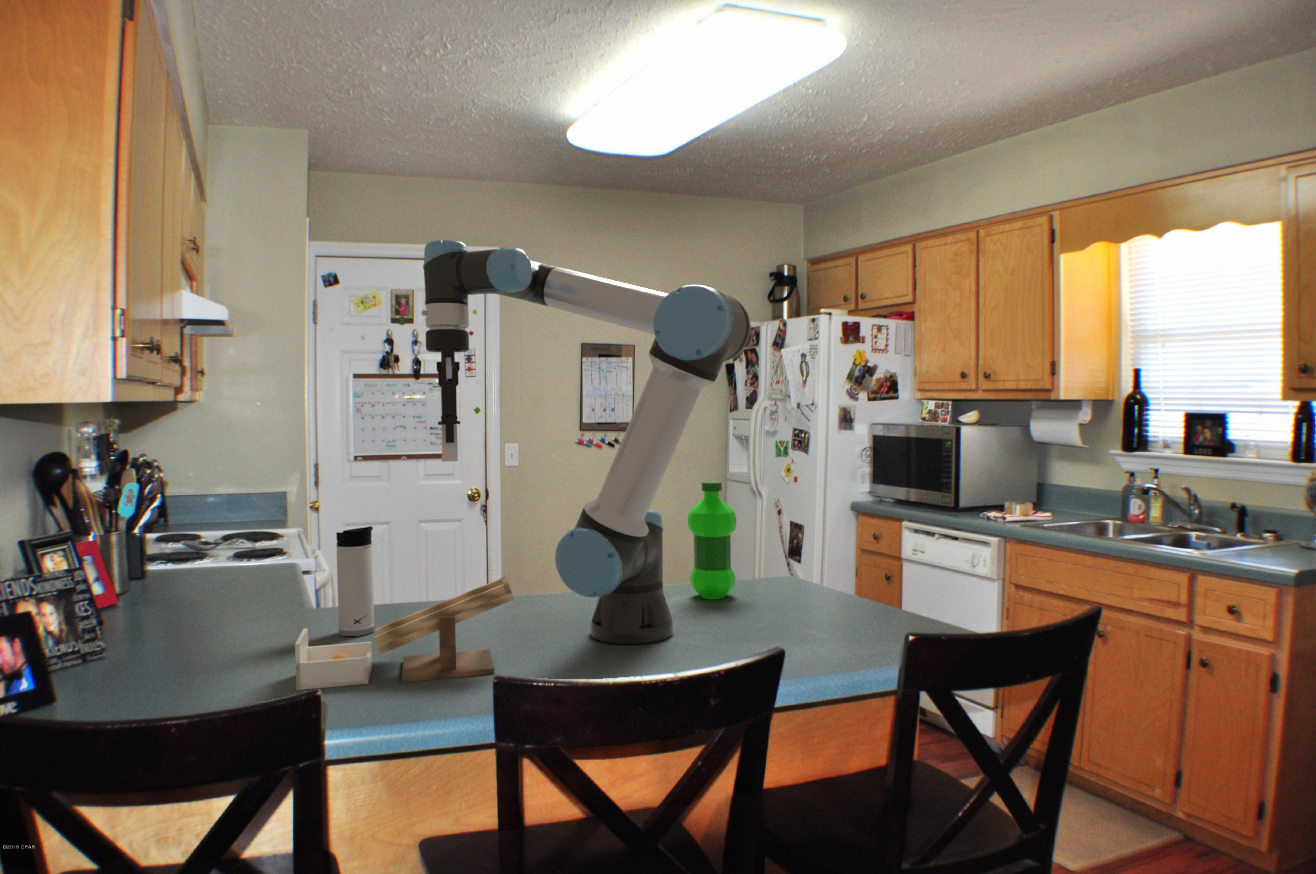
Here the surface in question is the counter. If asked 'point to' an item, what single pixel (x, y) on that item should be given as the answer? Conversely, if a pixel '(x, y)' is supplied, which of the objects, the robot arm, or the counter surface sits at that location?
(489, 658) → the stand
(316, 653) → the white open box
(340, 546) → the travel mug
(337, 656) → the ball
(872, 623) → the counter surface
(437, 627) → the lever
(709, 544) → the plastic bottle
